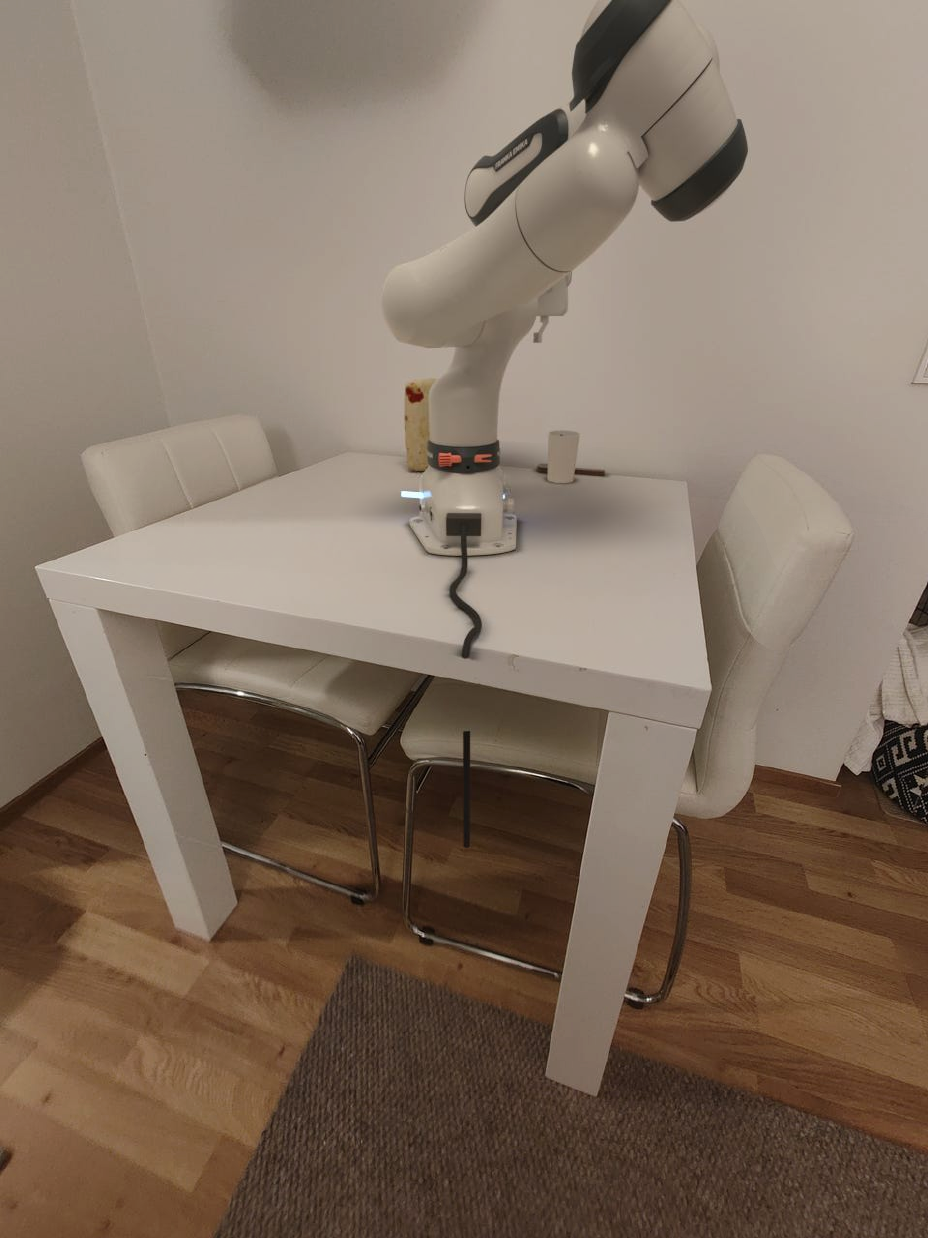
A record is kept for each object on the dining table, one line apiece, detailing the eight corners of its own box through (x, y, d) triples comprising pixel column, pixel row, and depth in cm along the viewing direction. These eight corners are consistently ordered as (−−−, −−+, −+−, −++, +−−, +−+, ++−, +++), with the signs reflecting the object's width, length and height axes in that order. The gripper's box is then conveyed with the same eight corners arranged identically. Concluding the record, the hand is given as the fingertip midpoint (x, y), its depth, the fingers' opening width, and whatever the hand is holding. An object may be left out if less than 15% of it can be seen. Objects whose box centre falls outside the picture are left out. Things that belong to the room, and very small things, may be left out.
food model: (413, 475, 130) (409, 380, 120) (401, 469, 135) (396, 378, 125) (451, 470, 134) (450, 378, 124) (438, 464, 139) (436, 376, 130)
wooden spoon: (605, 472, 131) (606, 467, 131) (603, 477, 128) (604, 472, 127) (538, 467, 136) (539, 462, 135) (534, 472, 132) (535, 466, 132)
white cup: (539, 479, 126) (542, 433, 121) (556, 474, 130) (560, 429, 125) (564, 485, 122) (568, 437, 117) (581, 479, 126) (585, 432, 121)
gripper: (574, 260, 106) (568, 342, 113) (468, 262, 111) (468, 341, 118) (571, 257, 101) (565, 343, 108) (460, 260, 106) (460, 342, 112)
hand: (513, 342), depth 113 cm, fingers open, 8 cm apart
